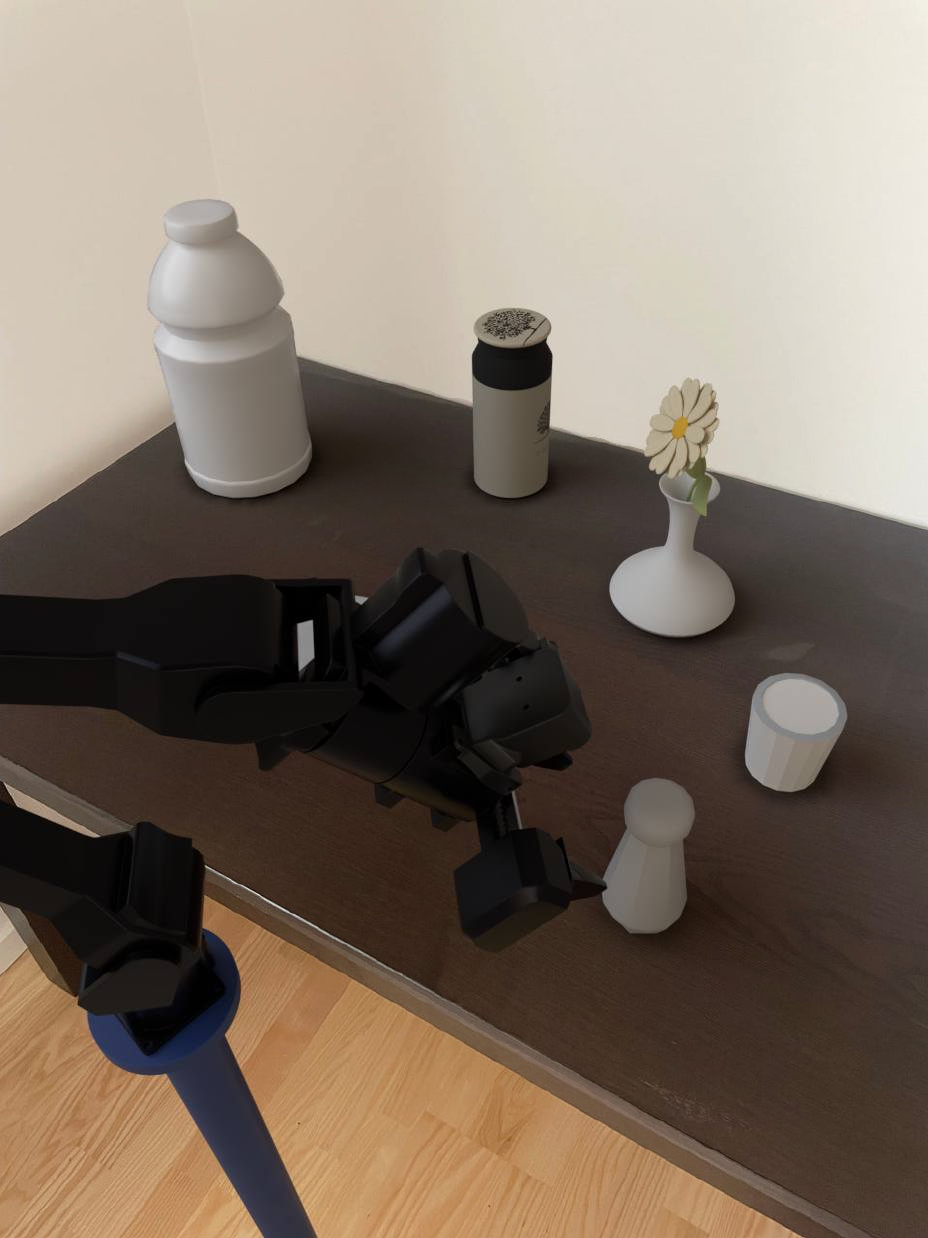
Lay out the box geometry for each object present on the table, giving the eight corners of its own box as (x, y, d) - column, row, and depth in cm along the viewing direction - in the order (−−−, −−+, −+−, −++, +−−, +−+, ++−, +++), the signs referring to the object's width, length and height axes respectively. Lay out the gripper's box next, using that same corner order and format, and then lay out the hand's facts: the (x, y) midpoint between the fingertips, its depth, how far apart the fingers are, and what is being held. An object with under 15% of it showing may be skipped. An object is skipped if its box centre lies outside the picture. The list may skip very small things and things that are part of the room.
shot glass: (828, 741, 79) (850, 683, 74) (822, 808, 74) (845, 751, 69) (742, 721, 80) (758, 663, 76) (731, 785, 76) (747, 728, 71)
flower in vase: (613, 559, 96) (639, 323, 78) (732, 572, 94) (785, 334, 76) (600, 652, 87) (626, 409, 69) (730, 670, 85) (791, 424, 67)
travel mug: (459, 484, 105) (454, 330, 93) (500, 449, 110) (500, 298, 97) (522, 509, 102) (525, 353, 89) (560, 472, 106) (569, 318, 94)
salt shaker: (687, 947, 66) (717, 841, 57) (602, 947, 66) (619, 841, 57) (674, 872, 70) (701, 761, 61) (595, 872, 71) (610, 762, 62)
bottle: (268, 415, 116) (223, 172, 97) (338, 463, 109) (304, 209, 89) (164, 463, 109) (93, 211, 90) (231, 517, 102) (169, 256, 82)
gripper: (533, 798, 41) (740, 897, 50) (471, 528, 55) (642, 642, 63) (367, 918, 46) (581, 989, 55) (346, 642, 60) (521, 734, 68)
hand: (583, 824), depth 60 cm, fingers open, 9 cm apart
